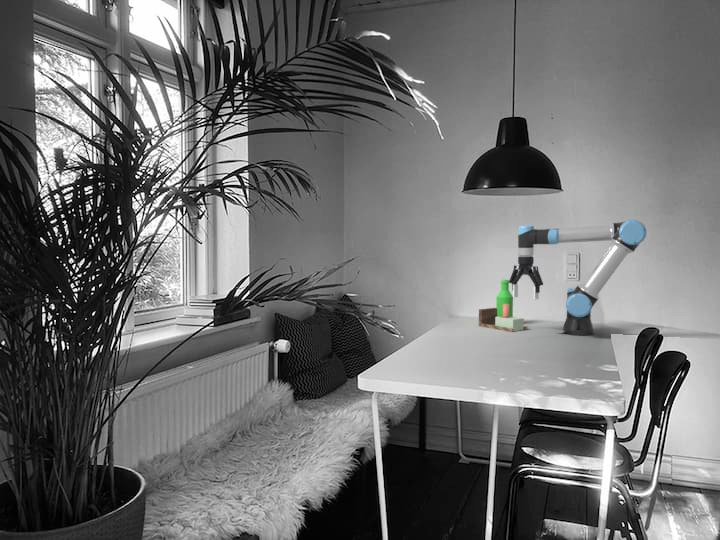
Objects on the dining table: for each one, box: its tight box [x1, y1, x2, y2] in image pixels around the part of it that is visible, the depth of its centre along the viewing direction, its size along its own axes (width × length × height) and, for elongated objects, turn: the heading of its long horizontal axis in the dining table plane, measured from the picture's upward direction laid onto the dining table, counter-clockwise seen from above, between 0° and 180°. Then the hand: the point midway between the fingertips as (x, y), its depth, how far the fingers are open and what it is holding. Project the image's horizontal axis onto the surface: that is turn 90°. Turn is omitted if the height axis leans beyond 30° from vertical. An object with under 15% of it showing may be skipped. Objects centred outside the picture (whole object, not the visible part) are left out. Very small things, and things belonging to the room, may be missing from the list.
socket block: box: [495, 316, 525, 332], centre depth 331 cm, size 12×8×6 cm, turn 35°
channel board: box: [478, 307, 529, 333], centre depth 334 cm, size 23×12×10 cm, turn 35°
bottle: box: [495, 279, 514, 317], centre depth 353 cm, size 9×9×25 cm
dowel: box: [503, 304, 509, 318], centre depth 332 cm, size 3×3×12 cm
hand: (525, 298), depth 322 cm, fingers open, 13 cm apart
